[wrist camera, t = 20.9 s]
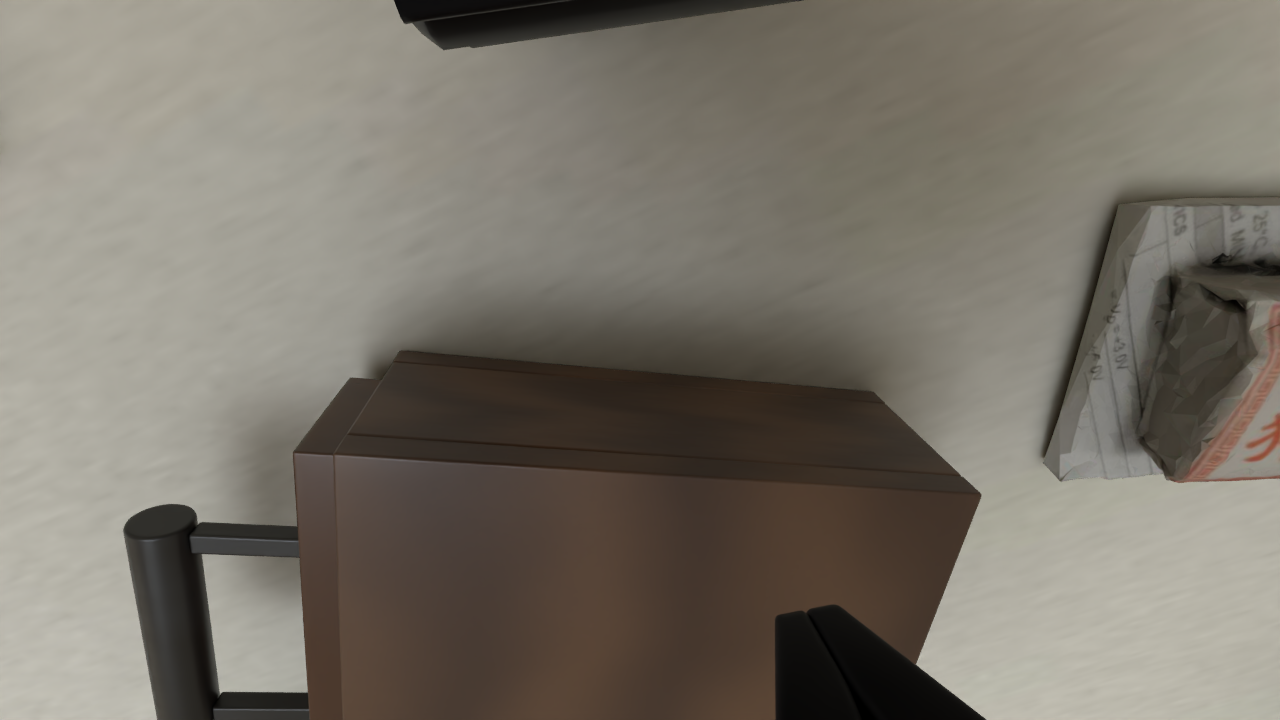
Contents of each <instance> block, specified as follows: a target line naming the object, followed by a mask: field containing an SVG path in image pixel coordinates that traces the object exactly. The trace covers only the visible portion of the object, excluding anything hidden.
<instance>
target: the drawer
mask: <svg viewBox="0 0 1280 720" xmlns="http://www.w3.org/2000/svg"><path fill="white" fill-rule="evenodd" d="M380 382H381V380H375V379H362V378H349V380H348V381H347V382H346V384H345V385H344V386H343V388H342V389H341V390H340V391H339V393H338V394H337V395H336V397H335V398H334V399H333V401H332V402H331V403H330V404H329V406H328V407H327V408H326V410H325V411H324V412H323V414H322V415H321V416H320V417H319V419H318V420H317V421H316V423H315V424H314V425H313V427H312V428H311V429H310V431H309V432H308V433H307V434H306V436H305V437H304V438H303V440H302V441H301V442H300V444H299V445H298V446H297V447H296V449H295V450H294V451H293V463H294V479H295V495H296V511H297V526H298V527H296V526H275V525H253V524H231V523H209V522H201V523H199V524H198V522H197V515H196V513H195V511H194V510H193V509H192V508H190V507H188V506H185V505H180V504H167V505H160V506H155V507H152V508H149V509H146V510H143V511H141V512H139V513H137V514H135V515H134V516H133V517H131V518H130V519H129V520H128V521H127V522H126V524H125V526H124V529H123V532H124V538H125V543H126V549H127V554H128V560H129V565H130V571H131V576H132V582H133V588H134V593H135V599H136V604H137V610H138V615H139V621H140V626H141V632H142V637H143V643H144V648H145V654H146V660H147V665H148V671H149V676H150V682H151V687H152V693H153V698H154V704H155V709H156V715H157V720H343V713H342V686H341V659H340V632H339V605H338V578H337V551H336V524H335V497H334V470H333V454H334V452H335V450H336V449H337V447H338V446H339V444H340V443H341V441H342V440H343V438H344V436H346V434H347V432H348V431H349V429H350V428H351V426H352V425H353V423H354V422H355V420H356V419H357V417H358V416H359V414H360V412H361V411H362V409H363V408H364V406H365V405H366V403H367V402H368V400H369V399H370V397H371V396H372V394H373V392H374V391H375V389H376V388H377V386H378V385H379V383H380ZM202 554H219V555H245V556H271V557H296V558H300V574H301V590H302V606H303V622H304V638H305V654H306V670H307V686H308V693H284V692H222V693H221V695H220V692H219V684H218V676H217V668H216V661H215V653H214V645H213V638H212V630H211V622H210V614H209V607H208V599H207V591H206V584H205V576H204V568H203V560H202Z"/></svg>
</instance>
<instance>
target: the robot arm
mask: <svg viewBox="0 0 1280 720" xmlns="http://www.w3.org/2000/svg"><path fill="white" fill-rule="evenodd" d="M394 1H395V4H396V7H397V9H398V12H399V14H400V17H401V19H402V21H403V22H404V23H405V24H408V23H413V24H414V26H415V27H416V28H417V29H418V30H419V31H420V32H421V33H422V34H423V35H424V36H426V37H427V38H428V39H430V40H431V41H432V42H434V43H435V44H436V45H438V46H439V47H440V48H441V49H443V50H448V49H454V48H461V47H468V46H469V47H471V48H477V47H484V46H490V45H497V44H504V43H511V42H518V41H525V40H532V39H539V38H546V37H553V36H560V35H567V34H574V33H580V32H587V31H594V30H601V29H608V28H615V27H622V26H629V25H636V24H643V23H650V22H657V21H664V20H671V19H677V18H684V17H691V16H698V15H705V14H712V13H719V12H726V11H733V10H740V9H747V8H754V7H761V6H768V5H774V4H781V3H788V2H795V1H802V0H394ZM775 720H986V719H985V718H983V717H982V716H981V715H980V714H978V713H977V712H976V711H974V710H973V709H972V708H971V707H969V706H968V705H967V704H965V703H964V702H963V701H962V700H960V699H959V698H958V697H956V696H955V695H954V694H953V693H951V692H950V691H949V690H947V689H946V688H945V687H944V686H942V685H941V684H940V683H938V682H937V681H936V680H935V679H933V678H932V677H931V676H929V675H928V674H927V673H926V672H924V671H923V670H922V669H920V668H919V667H918V666H917V665H915V664H914V663H913V662H911V661H910V660H909V659H908V658H906V657H905V656H904V655H902V654H901V653H900V652H899V651H897V650H896V649H895V648H893V647H892V646H891V645H890V644H888V643H887V642H886V641H884V640H883V639H882V638H881V637H879V636H878V635H877V634H875V633H874V632H873V631H871V630H870V629H869V628H868V627H866V626H865V625H864V624H862V623H861V622H860V621H859V620H857V619H856V618H855V617H853V616H852V615H851V614H850V613H848V612H847V611H846V610H844V609H843V608H842V607H840V606H838V605H835V604H831V605H826V606H821V607H816V608H811V609H809V610H808V611H807V613H806V612H804V611H795V612H790V613H785V614H779V615H777V616H776V618H775Z"/></svg>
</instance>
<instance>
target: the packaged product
mask: <svg viewBox="0 0 1280 720" xmlns="http://www.w3.org/2000/svg"><path fill="white" fill-rule="evenodd" d="M1043 463H1044V464H1045V465H1046V466H1047V468H1048V469H1049V470H1050V471H1051V472H1052V473H1053V474H1054V475H1055V476H1056V477H1057V478H1058V479H1059V480H1060V481H1061V482H1062V481H1067V480H1073V479H1084V478H1103V479H1118V478H1127V477H1139V476H1145V475H1152V474H1164V476H1165V478H1166V480H1171V481H1174V482H1177V483H1184V482H1209V481H1239V480H1257V479H1276V478H1280V197H1248V198H1181V199H1170V200H1159V201H1148V202H1137V203H1126V204H1119V206H1118V210H1117V214H1116V217H1115V221H1114V225H1113V228H1112V232H1111V236H1110V239H1109V243H1108V247H1107V250H1106V254H1105V258H1104V261H1103V265H1102V269H1101V272H1100V276H1099V280H1098V283H1097V287H1096V291H1095V294H1094V298H1093V302H1092V305H1091V309H1090V312H1089V316H1088V319H1087V323H1086V326H1085V330H1084V333H1083V336H1082V340H1081V343H1080V347H1079V350H1078V354H1077V357H1076V361H1075V364H1074V368H1073V371H1072V374H1071V378H1070V381H1069V385H1068V388H1067V392H1066V395H1065V399H1064V402H1063V406H1062V409H1061V412H1060V416H1059V419H1058V422H1057V425H1056V428H1055V430H1054V433H1053V436H1052V439H1051V442H1050V445H1049V447H1048V450H1047V453H1046V456H1045V459H1044V462H1043Z"/></svg>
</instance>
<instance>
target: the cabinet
mask: <svg viewBox="0 0 1280 720" xmlns="http://www.w3.org/2000/svg"><path fill="white" fill-rule="evenodd" d="M333 470H334V497H335V524H336V551H337V578H338V605H339V632H340V659H341V686H342V713H343V720H775V618H776V616H777V615H779V614H785V613H790V612H795V611H804V612H806V613H807V611H808V610H809V609H811V608H816V607H821V606H826V605H831V604H835V605H838V606H840V607H842V608H843V609H844V610H846V611H847V612H848V613H850V614H851V615H852V616H853V617H855V618H856V619H857V620H859V621H860V622H861V623H862V624H864V625H865V626H866V627H868V628H869V629H870V630H871V631H873V632H874V633H875V634H877V635H878V636H879V637H881V638H882V639H883V640H884V641H886V642H887V643H888V644H890V645H891V646H892V647H893V648H895V649H896V650H897V651H899V652H900V653H901V654H902V655H904V656H905V657H906V658H908V659H909V660H910V661H911V662H913V663H914V664H915V665H916V663H917V660H918V658H919V655H920V652H921V650H922V647H923V645H924V642H925V640H926V637H927V635H928V632H929V629H930V627H931V624H932V622H933V619H934V617H935V614H936V611H937V609H938V606H939V604H940V601H941V599H942V596H943V593H944V591H945V588H946V586H947V583H948V581H949V578H950V576H951V573H952V570H953V568H954V565H955V563H956V560H957V558H958V555H959V552H960V550H961V547H962V545H963V542H964V540H965V537H966V534H967V532H968V529H969V527H970V524H971V522H972V519H973V516H974V514H975V511H976V509H977V506H978V504H979V501H980V499H981V493H980V492H979V491H978V490H976V489H975V488H974V487H973V486H972V485H971V484H970V483H969V482H968V481H967V480H966V479H965V478H964V477H961V475H960V474H959V473H958V472H957V471H956V470H955V469H954V468H953V467H952V466H951V465H950V464H948V463H947V462H946V461H945V460H944V459H943V458H942V457H941V456H940V455H939V454H938V453H937V452H936V451H935V450H934V449H933V448H932V447H930V446H929V445H928V444H927V443H926V442H925V441H924V440H923V439H922V438H921V437H920V436H919V435H918V434H917V433H916V432H915V431H914V430H913V429H911V428H910V427H909V426H908V425H907V424H906V423H905V422H904V421H903V420H902V419H901V418H900V417H899V416H898V415H897V414H896V413H895V412H893V411H892V410H891V409H890V408H889V407H888V406H887V405H886V404H885V402H884V401H882V400H881V399H880V398H879V397H878V396H877V395H876V394H875V393H874V392H867V391H855V390H844V389H832V388H821V387H809V386H798V385H787V384H775V383H764V382H752V381H741V380H729V379H718V378H707V377H695V376H684V375H672V374H661V373H649V372H638V371H627V370H615V369H604V368H592V367H581V366H569V365H558V364H547V363H535V362H524V361H512V360H501V359H489V358H478V357H467V356H455V355H444V354H432V353H421V352H410V351H399V353H398V355H397V356H396V358H395V359H394V361H393V363H392V365H391V366H390V368H389V369H388V371H387V372H386V374H385V375H384V377H383V379H382V380H381V382H380V383H379V385H378V386H377V388H376V389H375V391H374V392H373V394H372V396H371V397H370V399H369V400H368V402H367V403H366V405H365V406H364V408H363V409H362V411H361V412H360V414H359V416H358V417H357V419H356V420H355V422H354V423H353V425H352V426H351V428H350V429H349V431H348V432H347V434H346V436H344V438H343V440H342V441H341V443H340V444H339V446H338V447H337V449H336V450H335V452H334V454H333Z"/></svg>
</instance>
